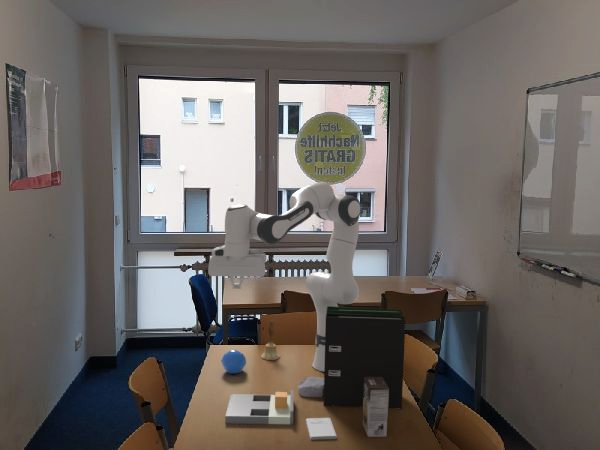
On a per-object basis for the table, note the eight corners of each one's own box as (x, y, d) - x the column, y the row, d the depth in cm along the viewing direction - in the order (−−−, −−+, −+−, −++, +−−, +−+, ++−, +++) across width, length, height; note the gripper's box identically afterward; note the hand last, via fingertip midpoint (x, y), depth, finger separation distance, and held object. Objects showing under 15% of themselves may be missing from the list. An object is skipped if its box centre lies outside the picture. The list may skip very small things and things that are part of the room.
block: (287, 403, 193) (287, 392, 192) (286, 408, 189) (287, 397, 188) (275, 403, 193) (275, 391, 192) (274, 408, 189) (275, 396, 188)
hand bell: (263, 353, 249) (263, 318, 247) (281, 354, 248) (282, 319, 246) (259, 359, 241) (259, 323, 239) (278, 361, 240) (278, 324, 238)
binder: (398, 393, 209) (401, 309, 205) (402, 410, 195) (405, 320, 191) (325, 389, 211) (327, 306, 208) (323, 406, 197) (325, 317, 193)
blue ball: (247, 366, 233) (247, 344, 231) (245, 378, 221) (245, 354, 219) (223, 366, 232) (223, 344, 231) (219, 377, 220) (219, 354, 219)
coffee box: (361, 423, 185) (363, 376, 183) (380, 423, 185) (382, 376, 183) (367, 437, 176) (368, 387, 174) (387, 436, 176) (389, 387, 174)
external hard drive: (310, 441, 173) (305, 422, 186) (336, 440, 174) (330, 421, 187) (310, 436, 173) (305, 418, 185) (336, 435, 174) (330, 417, 186)
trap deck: (293, 401, 200) (293, 389, 199) (293, 424, 183) (293, 411, 182) (231, 400, 200) (231, 388, 199) (225, 423, 183) (225, 410, 182)
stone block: (298, 401, 205) (325, 398, 204) (295, 388, 205) (322, 385, 203) (302, 389, 217) (327, 386, 215) (300, 377, 216) (325, 373, 215)
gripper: (266, 249, 204) (266, 286, 205) (210, 248, 203) (210, 285, 205) (265, 252, 197) (265, 291, 199) (207, 251, 197) (207, 289, 199)
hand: (236, 288), depth 202 cm, fingers closed
